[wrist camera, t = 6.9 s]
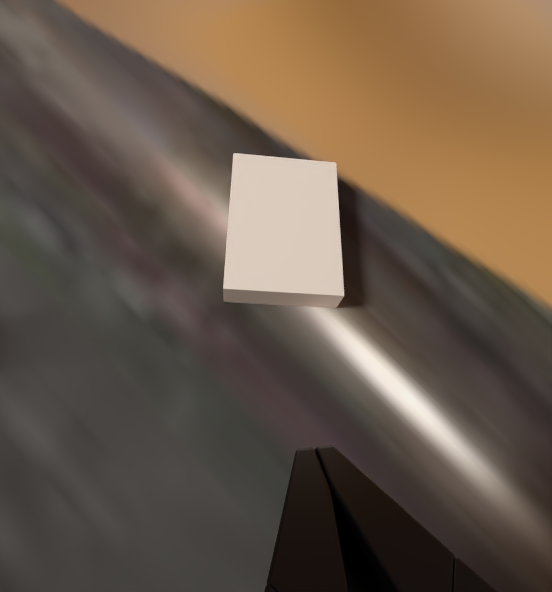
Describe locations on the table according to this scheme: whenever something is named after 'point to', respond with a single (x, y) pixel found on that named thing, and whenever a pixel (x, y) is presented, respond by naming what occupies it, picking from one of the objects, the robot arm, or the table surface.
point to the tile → (283, 233)
